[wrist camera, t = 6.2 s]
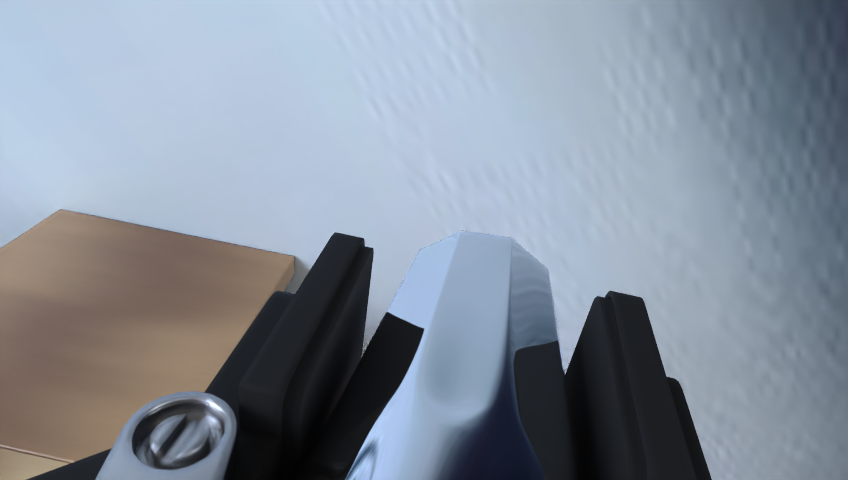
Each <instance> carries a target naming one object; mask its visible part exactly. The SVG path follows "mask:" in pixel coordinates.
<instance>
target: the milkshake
mask: <svg viewBox="0 0 848 480" xmlns="http://www.w3.org/2000/svg"><path fill="white" fill-rule="evenodd" d="M291 480H581V475H580V471H579V465H578V459H577V452H576V446H575V439H574V432H573V426H572V419H571V412H570V406H569V399H568V392H567V386H566V379H565V372H564V365H563V359H562V352H561V345H560V338H559V332H558V325H557V318H556V312H555V307H554V301H553V296H552V290H551V283H550V277H549V272H548V269H547V268H546V267H545V266H544V265H543V264H541V263H540V262H539V261H538V260H537V259H536V258H534V257H533V256H532V255H531V254H530V253H529V252H527V251H526V250H525V249H524V248H523V247H522V246H521V245H519V244H518V243H517V242H516V241H515V240H514V239H513V238H511V237H504V236H497V235H490V234H484V233H477V232H470V231H464V230H461V231H459V232H457V233H455V234H453V235H450V236H448V237H446V238H444V239H442V240H440V241H437V242H435V243H433V244H431V245H429V246H426V247H424V248H422V249H420V250H419V252H418V253H417V255H416V257H415V259H414V260H413V262H412V264H411V266H410V268H409V270H408V272H407V274H406V275H405V277H404V279H403V281H402V283H401V285H400V287H399V289H398V291H397V292H396V294H395V296H394V298H393V300H392V302H391V304H390V306H389V307H388V309H387V311H386V313H385V315H384V317H383V319H382V321H381V322H380V324H379V326H378V328H377V330H376V332H375V334H374V336H373V337H372V339H371V341H370V343H369V345H368V347H367V349H366V351H365V352H364V354H363V356H362V358H361V360H360V362H359V364H358V366H357V367H356V369H355V371H354V373H353V375H352V377H351V379H350V380H349V382H348V384H347V386H346V388H345V390H344V391H343V393H342V395H341V397H340V399H339V400H338V402H337V404H336V406H335V408H334V409H333V411H332V413H331V415H330V416H329V418H328V420H327V421H326V423H325V425H324V426H323V428H322V430H321V431H320V433H319V435H318V436H317V438H316V439H315V441H314V443H313V444H312V446H311V448H310V449H309V451H308V452H307V454H306V456H305V457H304V459H303V460H302V462H301V464H300V465H299V467H298V468H297V470H296V472H295V473H294V475H293V477H292V478H291Z"/></svg>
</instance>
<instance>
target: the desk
mask: <svg viewBox="0 0 848 480" xmlns="http://www.w3.org/2000/svg"><path fill="white" fill-rule="evenodd" d="M294 264H295V258H294V256H290V255H285V254H280V253H275V252H270V251H265V250H260V249H255V248H250V247H245V246H240V245H235V244H231V243H226V242H221V241H216V240H211V239H206V238H201V237H196V236H191V235H186V234H181V233H176V232H171V231H166V230H161V229H156V228H151V227H146V226H141V225H137V224H132V223H127V222H122V221H117V220H112V219H107V218H102V217H97V216H92V215H87V214H82V213H77V212H72V211H67V210H62V209H60V210H58V211H57V212H55V213H54V214H52V215H51V216H49V217H48V218H46V219H44V220H43V221H41V222H40V223H38V224H37V225H35V226H34V227H32V228H31V229H29V230H28V231H26V232H25V233H23V234H22V235H20V236H19V237H17V238H15V239H14V240H12V241H11V242H9V243H8V244H6V245H5V246H3V247H2V248H0V480H26V479H29V478H32V477H34V476H37V475H40V474H43V473H45V472H48V471H51V470H54V469H56V468H59V467H62V466H64V465H67V464H70V463H73V462H75V461H78V460H81V459H83V458H86V457H89V456H92V455H94V454H97V453H100V452H103V451H105V450H108V449H111V448H112V447H113V445H114V443H115V441H116V440H117V438H118V436H119V434H120V432H121V430H122V428H123V427H124V426H125V424H126V423H127V422H128V420H129V419H130V418H131V416H132V415H133V414H134V413H136V412H137V411H138V410H139V409H141V408H142V407H143V406H145V405H146V404H148V403H150V402H152V401H154V400H156V399H158V398H160V397H162V396H165V395H169V394H173V393H177V392H189V391H198V392H203V393H204V392H205V390H206V389H207V388H208V386H209V385H210V383H211V382H212V380H213V379H214V377H215V376H216V375H217V373H218V372H219V370H220V369H221V367H222V366H223V364H224V363H225V361H226V360H227V359H228V357H229V356H230V354H231V353H232V351H233V350H234V348H235V347H236V346H237V344H238V343H239V341H240V340H241V338H242V337H243V335H244V334H245V332H246V331H247V330H248V328H249V327H250V325H251V324H252V322H253V321H254V319H255V318H256V317H257V315H258V314H259V312H260V311H261V309H262V308H263V306H264V305H265V303H266V302H267V301H268V299H269V298H270V296H271V295H272V294H273V293H274V292H276V291H282V292H284V291H285V289H286V287H287V286H288V284H289V282H290V281H291V279H292V277H293V276H294Z"/></svg>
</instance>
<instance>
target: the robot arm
mask: <svg viewBox="0 0 848 480" xmlns="http://www.w3.org/2000/svg"><path fill="white" fill-rule="evenodd" d="M364 245H365V243H364V238H360V237H355V236H350V235H345V234H341V233H334V234H333V235H332V236H331V238H330V240H329V241H328V243H327V244H326V246H325V247H324V249H323V251H322V252H321V254H320V255H319V257H318V259H317V260H316V262H315V263H314V265H313V267H312V268H311V270H310V271H309V273H308V275H307V276H306V278H305V279H304V281H303V283H302V284H301V286H300V287H299V289H298V291H297V292H296V294H291V293H286V292H282V291H276V292H274V293H273V294H272V295H271V296H270V298H269V299H268V301H267V302H266V303H265V305H264V306H263V308H262V309H261V311H260V312H259V314H258V315H257V317H256V318H255V319H254V321H253V322H252V324H251V325H250V327H249V328H248V330H247V331H246V332H245V334H244V335H243V337H242V338H241V340H240V341H239V343H238V344H237V346H236V347H235V348H234V350H233V351H232V353H231V354H230V356H229V357H228V359H227V360H226V361H225V363H224V364H223V366H222V367H221V369H220V370H219V372H218V373H217V375H216V376H215V377H214V379H213V380H212V382H211V383H210V385H209V386H208V388H207V389H206V390H205V392H204V393H203V392H198V391H189V392H177V393H173V394H169V395H165V396H162V397H160V398H158V399H156V400H154V401H152V402H150V403H148V404H146V405H145V406H143V407H142V408H141V409H139V410H138V411H137V412H136V413H134V414H133V415H132V416H131V418H130V419H129V420H128V422H127V423H126V424H125V426H124V427H123V428H122V430H121V432H120V434H119V436H118V438H117V440H116V441H115V443H114V445H113V447H112V448H111V449H108V450H105V451H103V452H100V453H97V454H94V455H92V456H89V457H86V458H83V459H81V460H78V461H75V462H73V463H70V464H67V465H64V466H62V467H59V468H56V469H54V470H51V471H48V472H45V473H43V474H40V475H37V476H34V477H32V478H29V479H26V480H291V478H292V477H293V475H294V473H295V472H296V470H297V468H298V467H299V465H300V464H301V462H302V460H303V459H304V457H305V456H306V454H307V452H308V451H309V449H310V448H311V446H312V444H313V443H314V441H315V439H316V438H317V436H318V435H319V433H320V431H321V430H322V428H323V426H324V425H325V423H326V421H327V420H328V418H329V416H330V415H331V413H332V411H333V409H334V408H335V406H336V404H337V402H338V400H339V399H340V397H341V395H342V393H343V391H344V390H345V388H346V386H347V384H348V382H349V380H350V379H351V377H352V375H353V373H354V371H355V369H356V367H357V366H358V364H359V362H360V360H361V356H362V348H363V339H364V331H365V322H366V313H367V305H368V296H369V288H370V279H371V270H372V262H373V248H370V247H365V246H364ZM565 379H566V386H567V392H568V399H569V406H570V412H571V419H572V426H573V432H574V439H575V446H576V452H577V459H578V465H579V471H580V475H581V480H712V479H711V476H710V473H709V470H708V467H707V464H706V461H705V458H704V455H703V451H702V448H701V445H700V442H699V439H698V436H697V433H696V430H695V427H694V424H693V421H692V418H691V414H690V411H689V408H688V405H687V402H686V399H685V396H684V393H683V390H682V388H681V385H680V383H679V382H678V381H677V380H676V379H674V378H670V377H666V374H665V371H664V367H663V364H662V360H661V357H660V354H659V350H658V347H657V344H656V340H655V337H654V334H653V330H652V327H651V324H650V320H649V317H648V313H647V310H646V307H645V303H644V301H643V299H642V298H641V297H637V296H632V295H627V294H623V293H618V292H613V291H609V292H608V293H607V295H606V296H605V298H604V297H599V296H597V297H596V298H595V299H594V301H593V303H592V306H591V308H590V311H589V314H588V316H587V319H586V322H585V324H584V327H583V330H582V332H581V335H580V337H579V340H578V343H577V345H576V348H575V351H574V353H573V356H572V358H571V361H570V364H569V366H568V369H567V372H566V374H565Z"/></svg>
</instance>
